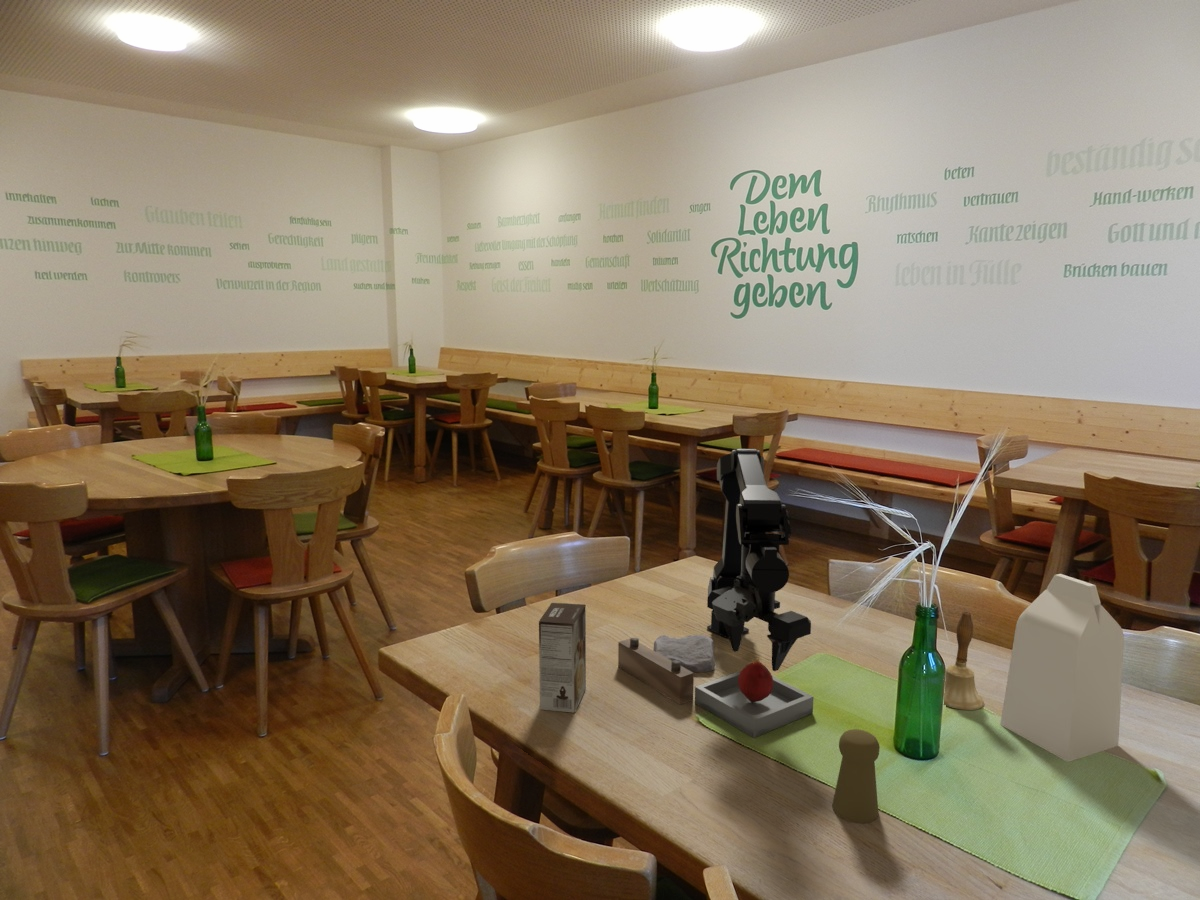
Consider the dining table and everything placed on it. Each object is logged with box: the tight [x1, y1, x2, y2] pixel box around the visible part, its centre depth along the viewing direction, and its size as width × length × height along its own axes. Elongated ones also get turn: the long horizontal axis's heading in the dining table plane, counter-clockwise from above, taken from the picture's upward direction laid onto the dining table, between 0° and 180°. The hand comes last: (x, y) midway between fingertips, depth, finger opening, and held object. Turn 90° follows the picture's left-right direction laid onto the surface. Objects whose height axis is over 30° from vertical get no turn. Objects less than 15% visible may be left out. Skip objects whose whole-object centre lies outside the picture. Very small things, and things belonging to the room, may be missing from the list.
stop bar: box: [617, 637, 695, 705], centre depth 146 cm, size 3×18×6 cm, turn 35°
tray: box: [694, 670, 815, 739], centre depth 137 cm, size 14×14×3 cm
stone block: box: [652, 634, 717, 673], centre depth 155 cm, size 12×5×10 cm
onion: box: [738, 658, 773, 703], centre depth 136 cm, size 6×6×8 cm
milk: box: [999, 573, 1125, 763], centre depth 126 cm, size 12×12×26 cm
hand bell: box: [943, 611, 985, 711], centre depth 139 cm, size 8×8×16 cm
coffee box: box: [538, 602, 587, 713], centre depth 138 cm, size 9×6×16 cm
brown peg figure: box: [831, 728, 880, 824], centre depth 108 cm, size 6×6×11 cm
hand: (755, 660), depth 135 cm, fingers open, 9 cm apart
